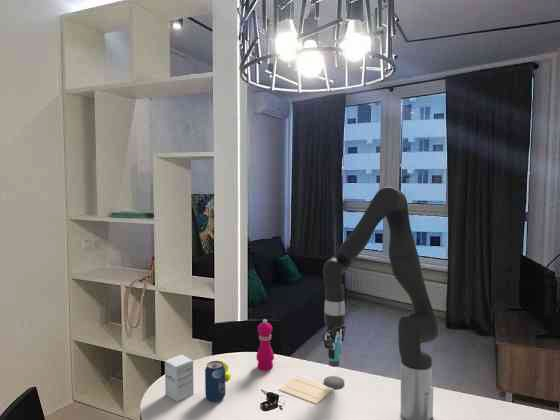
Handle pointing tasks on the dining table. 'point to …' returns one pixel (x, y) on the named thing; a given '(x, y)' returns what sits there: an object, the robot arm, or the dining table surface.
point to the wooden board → (306, 389)
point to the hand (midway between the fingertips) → (334, 356)
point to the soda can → (215, 381)
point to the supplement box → (179, 377)
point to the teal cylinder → (336, 353)
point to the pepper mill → (265, 347)
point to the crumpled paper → (226, 371)
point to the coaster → (334, 382)
